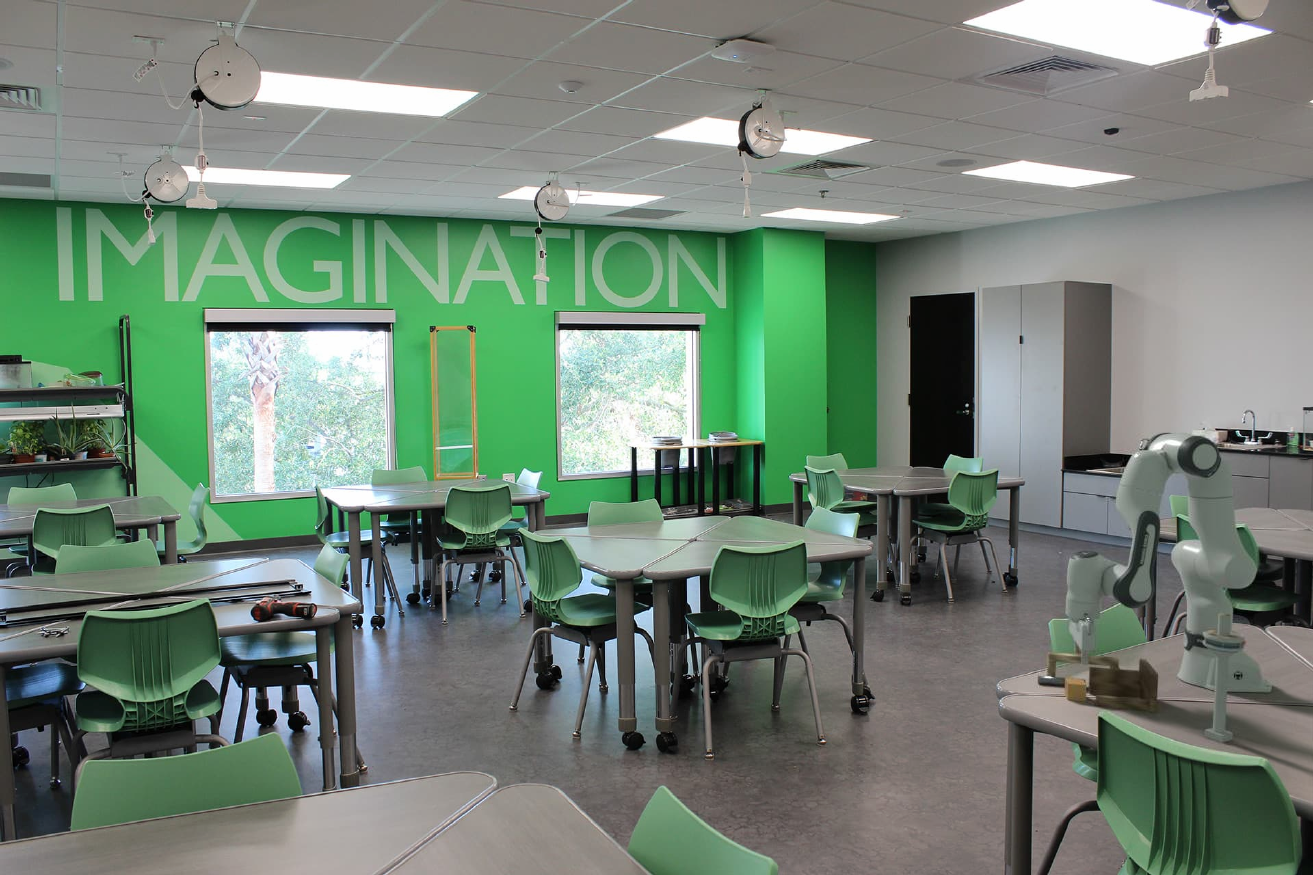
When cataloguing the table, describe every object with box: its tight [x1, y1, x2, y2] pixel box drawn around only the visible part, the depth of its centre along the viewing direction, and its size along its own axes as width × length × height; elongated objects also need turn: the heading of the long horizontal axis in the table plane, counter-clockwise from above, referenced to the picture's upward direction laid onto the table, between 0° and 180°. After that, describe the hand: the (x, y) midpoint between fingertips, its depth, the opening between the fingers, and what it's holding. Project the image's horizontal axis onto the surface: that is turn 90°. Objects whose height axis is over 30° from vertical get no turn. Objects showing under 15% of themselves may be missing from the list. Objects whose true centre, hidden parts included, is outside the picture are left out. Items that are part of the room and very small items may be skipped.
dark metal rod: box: [1037, 675, 1086, 687], centre depth 263 cm, size 12×2×2 cm, turn 75°
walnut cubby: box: [1088, 658, 1159, 714], centre depth 250 cm, size 14×13×10 cm
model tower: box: [1203, 613, 1245, 744], centre depth 224 cm, size 8×8×30 cm
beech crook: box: [1046, 651, 1121, 677], centre depth 264 cm, size 18×6×8 cm, turn 75°
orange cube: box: [1064, 677, 1087, 702], centre depth 253 cm, size 4×4×4 cm
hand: (1081, 658), depth 263 cm, fingers open, 8 cm apart
